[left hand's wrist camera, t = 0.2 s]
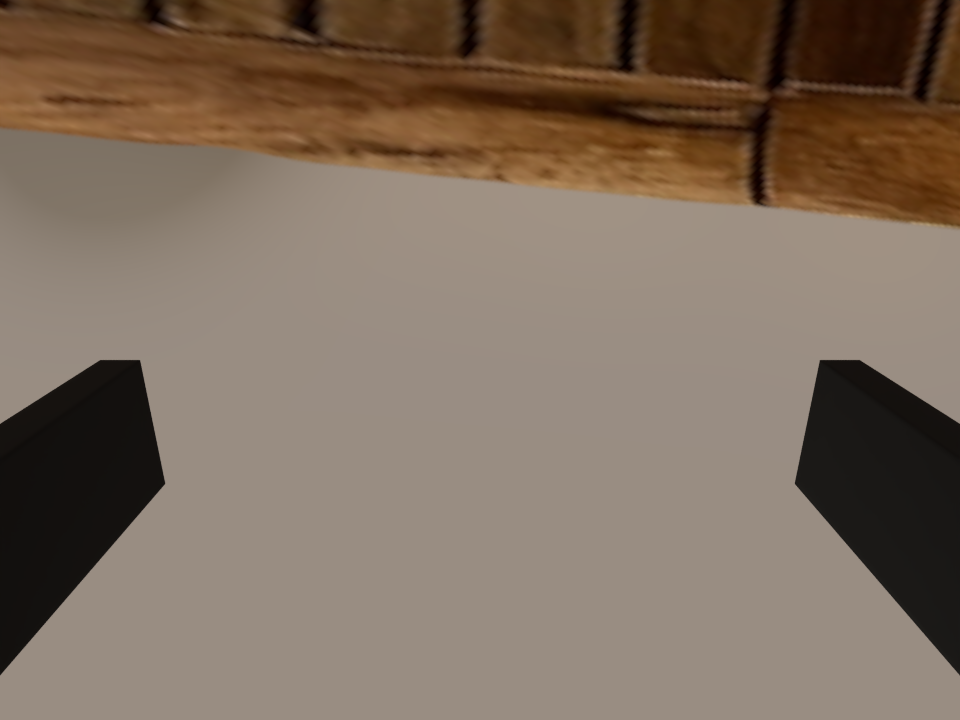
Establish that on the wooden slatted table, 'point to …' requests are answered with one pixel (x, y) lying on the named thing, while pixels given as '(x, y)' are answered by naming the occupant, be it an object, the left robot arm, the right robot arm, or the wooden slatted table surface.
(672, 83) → the wooden slatted table surface
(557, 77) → the wooden slatted table surface
